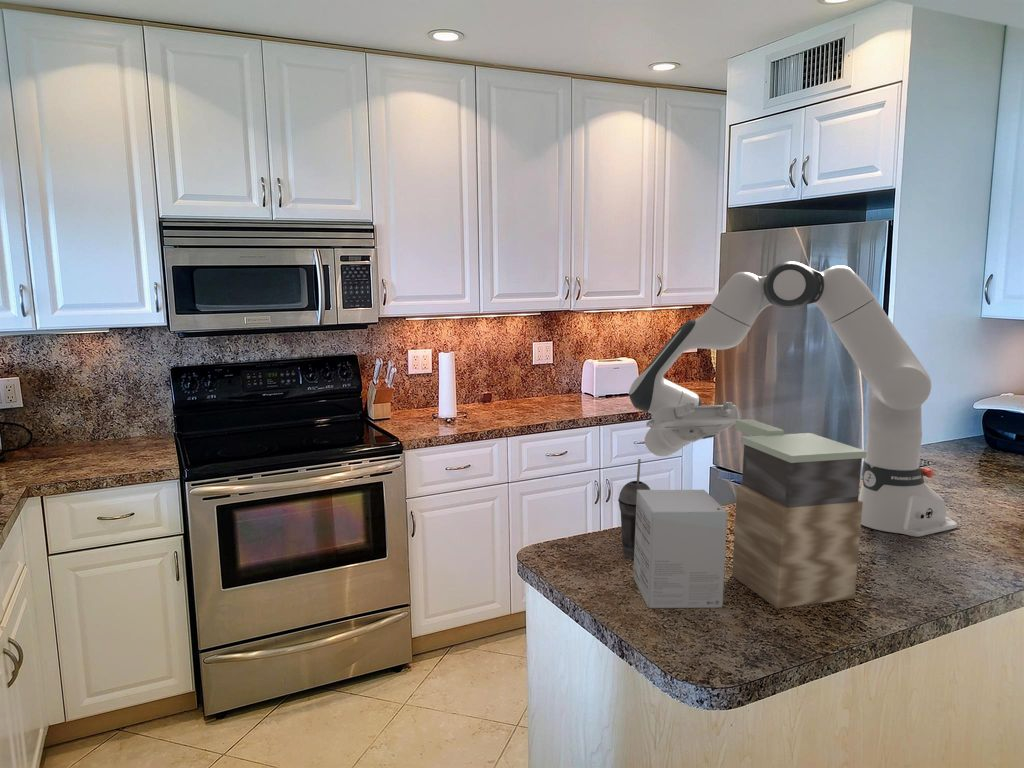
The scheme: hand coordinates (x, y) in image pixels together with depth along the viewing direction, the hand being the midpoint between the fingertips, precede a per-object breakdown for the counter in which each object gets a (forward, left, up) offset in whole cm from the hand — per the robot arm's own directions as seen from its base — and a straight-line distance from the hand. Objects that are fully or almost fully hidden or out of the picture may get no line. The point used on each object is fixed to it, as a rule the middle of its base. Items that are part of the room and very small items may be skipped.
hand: (711, 405), depth 157 cm
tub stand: (0, +31, -29) cm, 42 cm away
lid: (0, +26, -3) cm, 26 cm away
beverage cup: (+22, +10, -29) cm, 38 cm away
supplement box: (+22, +28, -29) cm, 46 cm away
